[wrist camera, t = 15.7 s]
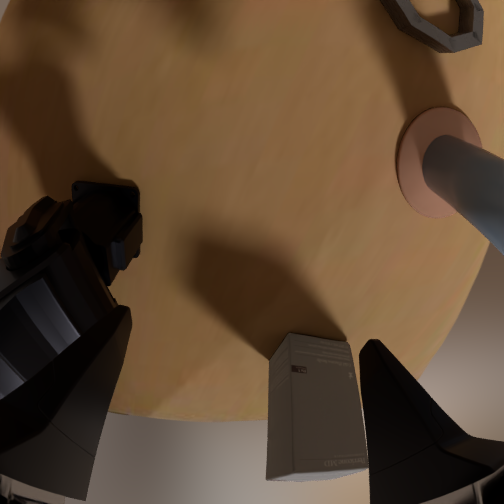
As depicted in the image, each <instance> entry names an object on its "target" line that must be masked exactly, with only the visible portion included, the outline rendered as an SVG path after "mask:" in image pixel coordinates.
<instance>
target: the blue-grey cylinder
mask: <svg viewBox="0 0 504 504" xmlns="http://www.w3.org/2000/svg"><path fill="white" fill-rule="evenodd" d="M422 172H423V177H424V181H425V183H426V185H427V186H428V188H429V189H430V190H431V191H432V192H434V193H435V194H436V195H438V196H439V197H440V198H441V199H443V200H444V201H445V202H446V203H448V204H449V205H450V206H451V207H452V208H454V209H455V210H456V211H457V212H458V213H460V214H461V215H462V216H463V217H464V218H465V219H467V220H468V221H469V222H470V223H471V224H472V225H473V226H474V227H475V228H476V229H478V230H479V231H480V232H481V233H482V234H483V235H484V236H485V237H486V238H487V239H488V240H489V241H490V242H491V243H492V244H493V245H494V246H495V247H496V248H497V249H498V250H499V251H500V252H501V253H502V254H503V255H504V159H502V158H500V157H498V156H496V155H494V154H492V153H490V152H488V151H486V150H484V149H482V148H480V147H478V146H476V145H473V144H471V143H469V142H467V141H464V140H462V139H459V138H457V137H455V136H452V135H441V136H439V137H437V138H436V139H434V140H433V141H432V142H431V143H430V145H429V146H428V148H427V150H426V152H425V154H424V158H423V164H422Z"/></svg>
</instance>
